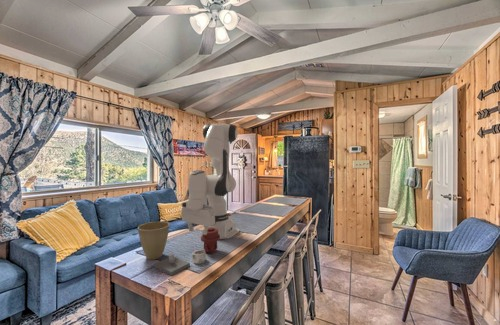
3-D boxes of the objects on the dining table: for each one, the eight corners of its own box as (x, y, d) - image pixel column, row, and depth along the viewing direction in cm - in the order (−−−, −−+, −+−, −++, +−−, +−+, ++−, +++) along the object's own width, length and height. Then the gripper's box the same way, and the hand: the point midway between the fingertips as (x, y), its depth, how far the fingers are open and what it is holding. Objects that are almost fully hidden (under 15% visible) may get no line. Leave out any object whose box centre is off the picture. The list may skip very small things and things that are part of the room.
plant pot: (150, 265, 103) (149, 232, 103) (132, 258, 112) (131, 227, 111) (176, 254, 116) (175, 223, 116) (158, 248, 124) (158, 219, 124)
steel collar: (199, 256, 112) (199, 248, 112) (208, 259, 109) (207, 251, 109) (189, 261, 107) (189, 253, 107) (198, 264, 104) (198, 256, 104)
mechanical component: (199, 255, 114) (203, 247, 124) (218, 255, 114) (221, 247, 124) (198, 231, 114) (203, 225, 124) (217, 231, 113) (221, 225, 123)
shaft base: (172, 259, 110) (172, 248, 110) (189, 265, 103) (189, 254, 103) (153, 267, 102) (153, 255, 102) (171, 275, 95) (170, 262, 94)
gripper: (218, 205, 104) (218, 234, 104) (189, 201, 116) (189, 227, 116) (208, 207, 99) (208, 238, 99) (179, 203, 110) (179, 230, 110)
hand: (197, 232), depth 107 cm, fingers open, 8 cm apart
